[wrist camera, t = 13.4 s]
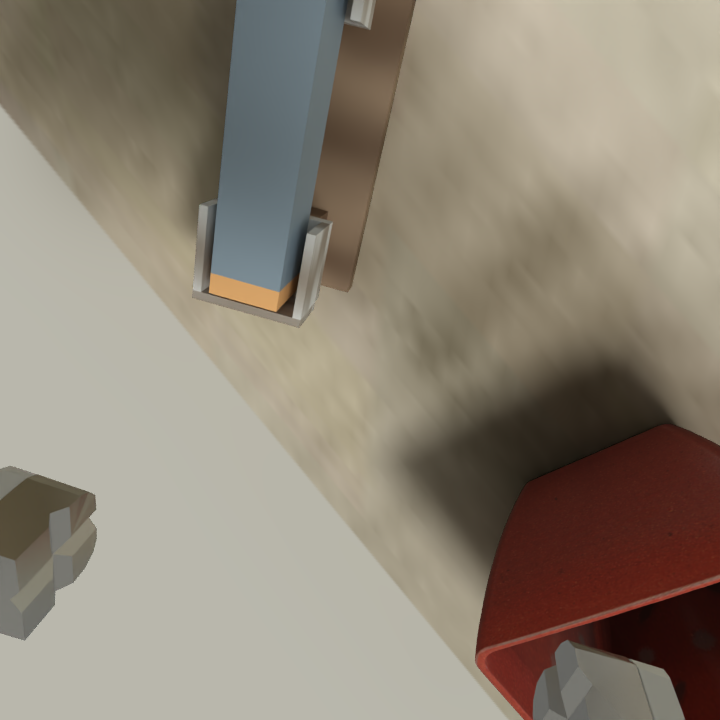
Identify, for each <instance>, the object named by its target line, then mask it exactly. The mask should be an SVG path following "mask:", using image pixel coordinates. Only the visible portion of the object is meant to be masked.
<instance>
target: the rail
mask: <svg viewBox="0 0 720 720" xmlns="http://www.w3.org/2000/svg"><path fill="white" fill-rule="evenodd" d="M347 3H348V0H237V3H236V13H235V24H234V34H233V45H232V55H231V66H230V76H229V87H228V97H227V108H226V118H225V129H224V139H223V150H222V160H221V171H220V181H219V192H218V202H217V213H216V223H215V234H214V244H213V255H212V265H211V276H210V286H209V293H211V294H215V295H218V296H222V297H225V298H229V299H232V300H236V301H239V302H243V303H246V304H250V305H253V306H257V307H260V308H264V309H267V310H271V311H274V312H277V310H278V309H279V308H280V307H281V306H282V305H283V304H284V303H285V302H286V301H287V300H288V299H289V298H290V297H291V296H292V295H293V294H294V293H295V292H296V290H297V286H298V280H299V274H300V269H301V263H302V257H303V252H304V246H305V240H306V235H307V229H308V223H309V218H310V212H311V207H312V201H313V195H314V190H315V184H316V178H317V173H318V167H319V161H320V156H321V150H322V144H323V139H324V133H325V127H326V122H327V116H328V110H329V105H330V99H331V94H332V88H333V82H334V77H335V71H336V65H337V60H338V54H339V48H340V43H341V37H342V31H343V26H344V20H345V14H346V9H347Z"/></svg>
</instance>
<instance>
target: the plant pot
mask: <svg viewBox="0 0 720 720" xmlns="http://www.w3.org/2000/svg"><path fill="white" fill-rule="evenodd" d="M566 640H570V641H573V642H577V643H580V644H583V645H587V646H590V647H593V648H597V649H600V650H604V651H607V652H610V653H614V654H617V655H620V656H624V657H626V658H628V659H632V660H635V661H639V662H642V663H645V664H648V665H652V666H655V667H658V668H661V669H664V671H665V672H666V673H667V674H668V676H669V677H670V679H671V682H672V685H673V688H674V690H675V693H676V696H677V698H678V701H679V704H680V707H681V709H682V712H683V715H684V718H685V720H720V446H719V445H717V444H716V443H714V442H712V441H710V440H708V439H706V438H704V437H702V436H699V435H697V434H695V433H693V432H691V431H689V430H686V429H684V428H681V427H678V426H675V425H673V424H663V425H660V426H657V427H654V428H652V429H650V430H648V431H645V432H643V433H641V434H639V435H636V436H634V437H631V438H629V439H627V440H624V441H622V442H620V443H618V444H615V445H613V446H611V447H608V448H606V449H604V450H601V451H599V452H597V453H595V454H592V455H590V456H588V457H585V458H583V459H581V460H578V461H576V462H574V463H571V464H569V465H567V466H564V467H562V468H560V469H557V470H555V471H553V472H550V473H548V474H546V475H543V476H541V477H539V478H537V479H534V480H532V481H530V482H528V483H527V484H526V485H525V486H524V488H523V489H522V491H521V493H520V495H519V497H518V499H517V501H516V503H515V505H514V507H513V509H512V511H511V513H510V516H509V518H508V520H507V523H506V525H505V528H504V530H503V533H502V535H501V538H500V541H499V544H498V547H497V550H496V554H495V557H494V561H493V564H492V567H491V571H490V575H489V579H488V584H487V588H486V592H485V597H484V602H483V608H482V613H481V618H480V624H479V630H478V637H477V645H476V655H475V663H476V665H477V667H478V668H479V669H480V670H481V672H482V673H483V674H484V675H485V676H486V677H487V679H488V680H489V681H490V682H491V683H492V684H493V685H494V686H495V687H496V689H497V690H498V691H499V692H500V693H501V694H502V695H503V696H504V698H505V699H506V700H507V701H508V702H509V703H510V704H511V705H512V707H513V708H514V709H515V710H516V711H517V712H518V713H519V714H520V716H521V717H522V718H523V719H524V720H533V699H534V694H535V689H536V685H537V682H538V680H539V678H540V676H541V675H542V673H543V671H544V670H545V669H547V668H550V667H553V666H555V665H556V659H555V652H556V650H557V648H558V647H559V645H560V644H561V643H562V642H564V641H566Z"/></svg>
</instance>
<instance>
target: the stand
mask: <svg viewBox="0 0 720 720" xmlns="http://www.w3.org/2000/svg"><path fill="white" fill-rule="evenodd" d="M415 1H416V0H348V3H347V9H346V14H345V20H344V26H343V31H342V37H341V43H340V48H339V54H338V60H337V65H336V71H335V77H334V82H333V88H332V94H331V99H330V105H329V110H328V116H327V122H326V127H325V133H324V139H323V144H322V150H321V156H320V161H319V167H318V173H317V178H316V184H315V190H314V195H313V201H312V207H311V212H310V218H309V223H308V229H307V235H306V240H305V246H304V252H303V257H302V263H301V269H300V274H299V280H298V286H297V290H296V292H295V293H294V294H293V295H292V296H291V297H290V298H289V299H288V300H287V301H286V302H285V303H284V304H283V305H282V306H281V307H280V308H279V309H278V310H277V312H274V311H271V310H267V309H264V308H260V307H257V306H253V305H250V304H246V303H243V302H239V301H236V300H232V299H229V298H225V297H222V296H218V295H215V294H211V293H209V286H210V276H211V265H212V255H213V244H214V234H215V223H216V213H217V202H218V198H216V199H213V200H210V201H207V202H204V203H202V204H199V216H198V229H197V242H196V255H195V268H194V281H193V294H192V298H195V299H199V300H202V301H206V302H209V303H213V304H216V305H220V306H223V307H227V308H230V309H234V310H237V311H241V312H244V313H248V314H252V315H255V316H259V317H262V318H266V319H269V320H273V321H276V322H280V323H283V324H287V325H290V326H294V327H297V328H299V327H300V326H301V325H302V324H303V322H304V321H305V320H306V318H307V317H308V316H309V315H310V313H311V312H312V311H313V309H314V304H315V301H316V300H317V299H318V296H319V291H320V286H321V285H323V286H326V287H330V288H334V289H337V290H341V291H345V292H348V291H349V290H350V288H351V287H352V283H353V278H354V274H355V269H356V265H357V260H358V256H359V252H360V247H361V243H362V238H363V234H364V229H365V225H366V220H367V216H368V211H369V207H370V202H371V198H372V193H373V189H374V185H375V180H376V176H377V171H378V167H379V162H380V158H381V153H382V149H383V144H384V140H385V135H386V131H387V126H388V122H389V118H390V113H391V109H392V104H393V100H394V95H395V91H396V86H397V82H398V77H399V73H400V68H401V64H402V59H403V55H404V51H405V46H406V42H407V37H408V33H409V28H410V24H411V19H412V15H413V10H414V6H415Z"/></svg>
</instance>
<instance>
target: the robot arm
mask: <svg viewBox="0 0 720 720" xmlns="http://www.w3.org/2000/svg"><path fill="white" fill-rule="evenodd" d="M95 510H96V500H95V495H94V494H92V493H90V492H87V491H85V490H81V489H79V488H76V487H72V486H70V485H67V484H64V483H61V482H58V481H55V480H52V479H49V478H46V477H44V476H41V475H37V474H34V473H31V472H28V471H24V470H22V469H19V468H16V467H12V466H8V467H5V468H2V469H0V633H2V634H5V635H8V636H11V637H15V638H18V639H21V640H26V638H27V637H28V636H29V635H30V634H31V632H32V631H33V630H34V629H35V628H36V627H37V625H38V624H39V623H40V622H41V621H42V619H43V618H44V617H45V616H46V615H47V613H48V612H49V611H50V610H51V609H52V607H53V606H54V605H55V591H56V590H58V589H61V588H63V587H65V586H67V585H69V584H71V583H73V582H74V581H75V580H76V578H77V577H78V576H79V575H80V573H81V572H82V571H83V570H84V568H85V567H86V565H87V563H88V561H89V559H90V557H91V555H92V553H93V551H94V547H95V543H96V539H97V538H96V537H97V534H96V533H97V532H96V531H97V529H96V527H95V525H94V524H93V523H92V521H91V520H90V518H89V517H90V515H91V514H92V513H93V512H94V511H95ZM555 659H556V665H555V666H553V667H550V668H547V669H545V670H544V671H543V673H542V675H541V676H540V678H539V680H538V682H537V685H536V689H535V694H534V699H533V720H685V718H684V715H683V712H682V709H681V707H680V704H679V701H678V698H677V696H676V693H675V690H674V688H673V685H672V682H671V679H670V677H669V676H668V674H667V673H666V672H665V671H664V669H661V668H658V667H655V666H652V665H648V664H645V663H642V662H639V661H635V660H632V659H628V658H626V657H624V656H620V655H617V654H614V653H610V652H607V651H604V650H600V649H597V648H593V647H590V646H587V645H583V644H580V643H577V642H573V641H570V640H566V641H564V642H562V643H561V644H560V645H559V647H558V648H557V650H556V652H555Z"/></svg>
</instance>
